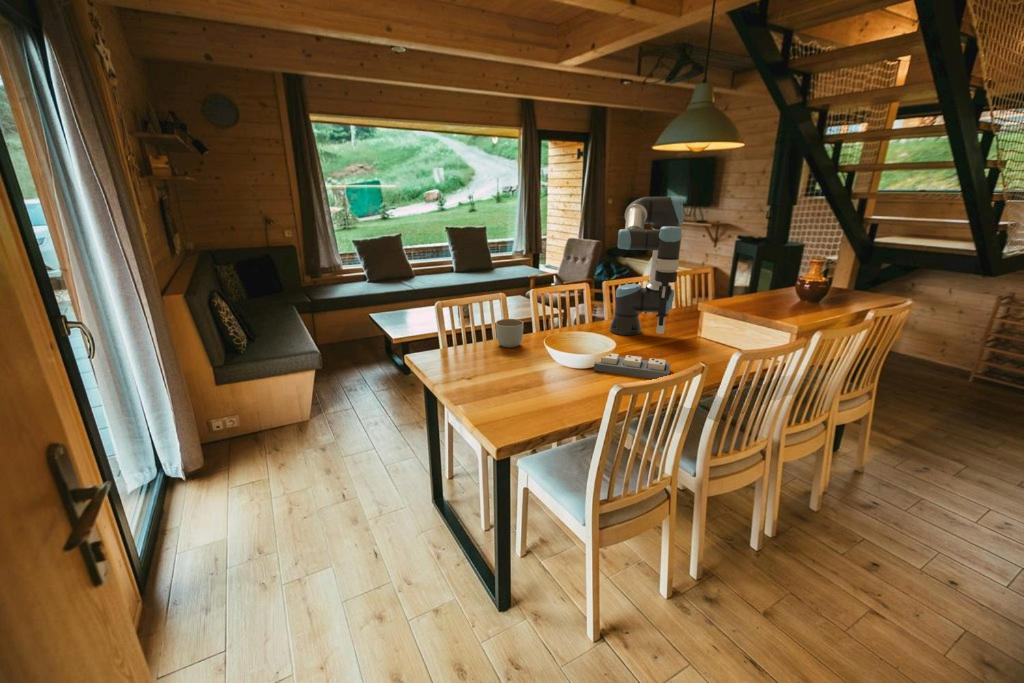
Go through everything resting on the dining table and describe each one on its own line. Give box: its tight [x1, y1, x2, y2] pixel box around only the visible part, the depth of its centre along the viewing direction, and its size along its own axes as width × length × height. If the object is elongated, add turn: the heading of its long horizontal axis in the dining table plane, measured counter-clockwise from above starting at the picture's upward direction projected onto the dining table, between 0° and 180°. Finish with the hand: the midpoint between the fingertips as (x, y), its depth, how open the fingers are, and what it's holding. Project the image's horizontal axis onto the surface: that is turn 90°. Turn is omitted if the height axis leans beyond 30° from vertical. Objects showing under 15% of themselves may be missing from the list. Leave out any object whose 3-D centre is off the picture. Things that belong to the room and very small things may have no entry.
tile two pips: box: [624, 354, 643, 367], centre depth 184 cm, size 6×6×3 cm
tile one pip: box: [601, 352, 620, 364], centre depth 187 cm, size 6×6×3 cm
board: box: [593, 356, 672, 380], centre depth 185 cm, size 11×28×3 cm, turn 69°
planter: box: [495, 318, 524, 349], centre depth 213 cm, size 12×12×11 cm
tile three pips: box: [648, 357, 666, 371], centre depth 181 cm, size 6×6×3 cm
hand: (660, 333), depth 177 cm, fingers closed
